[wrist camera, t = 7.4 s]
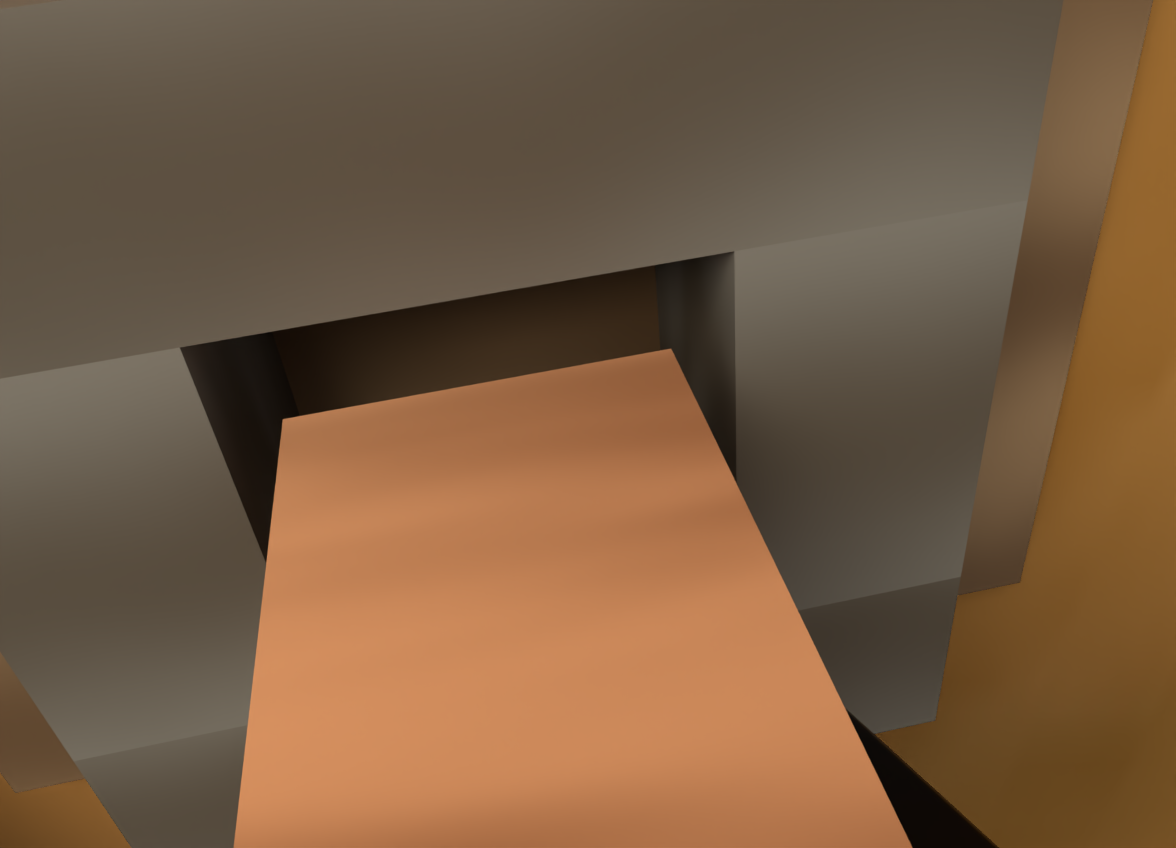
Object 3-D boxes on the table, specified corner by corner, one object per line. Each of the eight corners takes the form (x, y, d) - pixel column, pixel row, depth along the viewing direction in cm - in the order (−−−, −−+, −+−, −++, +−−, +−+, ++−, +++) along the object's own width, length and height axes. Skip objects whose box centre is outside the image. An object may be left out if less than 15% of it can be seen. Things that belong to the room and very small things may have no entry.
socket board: (995, 549, 21) (1141, 744, 17) (29, 748, 20) (-57, 1016, 16) (1194, -432, 12) (1619, -505, 8) (-653, -220, 10) (-1329, -172, 6)
